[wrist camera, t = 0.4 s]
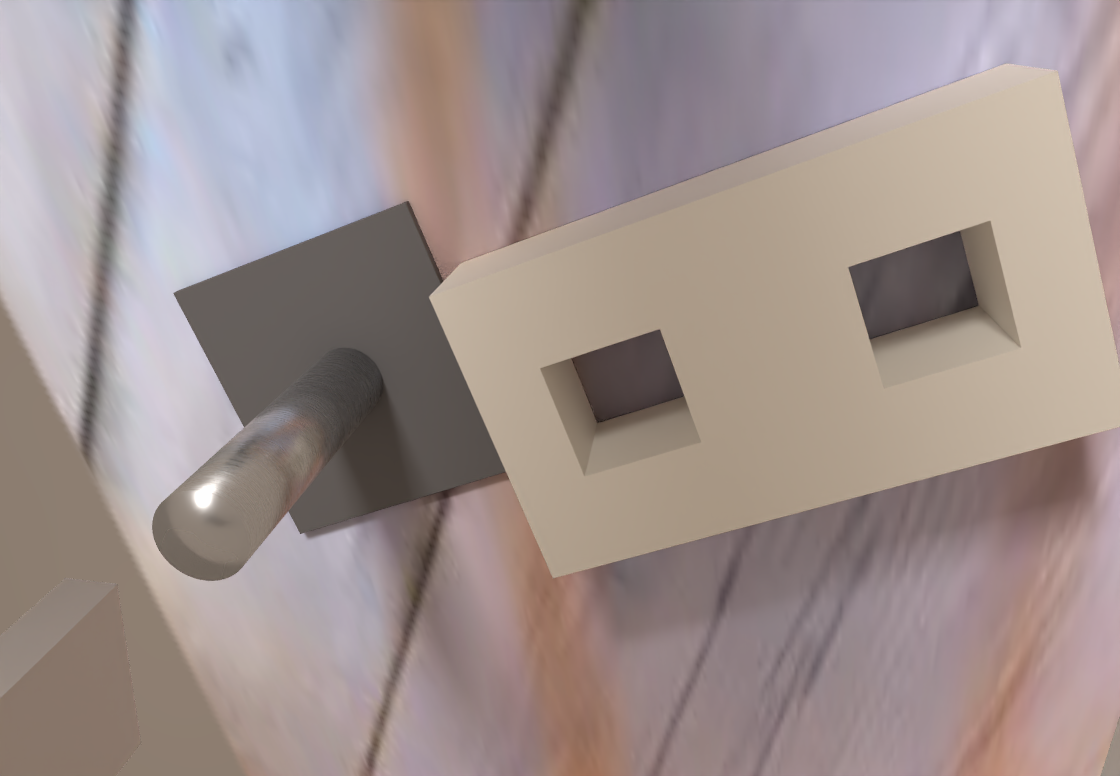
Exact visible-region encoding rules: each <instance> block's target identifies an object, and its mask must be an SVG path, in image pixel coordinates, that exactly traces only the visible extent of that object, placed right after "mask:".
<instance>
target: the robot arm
mask: <svg viewBox="0 0 1120 776" xmlns="http://www.w3.org/2000/svg"><path fill="white" fill-rule="evenodd" d="M140 744H141V738H140V732H139V724H138V718H137V711H136V704H135V698H134V691H133V685H132V678H131V672H130V664H129V658H128V651H127V645H126V638H125V631H124V625H123V618H122V611H121V604H120V598H119V591H118V585H117V584H111V583H103V582H95V581H86V580H78V579H69V578H65V579H64V580H63V581H61V582H60V583H59V584H58V585H57V586H56V587H55V588H54V589H52V590H51V591H50V592H49V593H48V594H47V595H46V596H45V597H43V598H42V599H41V600H40V601H39V602H38V603H37V604H36V605H34V606H33V607H32V608H31V609H30V610H29V611H28V612H26V613H25V614H24V615H23V616H22V617H21V618H20V619H19V620H17V621H16V622H15V623H14V624H13V625H12V626H11V627H9V628H8V629H7V630H6V631H5V632H4V633H3V634H2V635H0V776H116V775H117V774H118V773H119V771H120V770H121V769H122V768H123V766H124V765H125V764H126V762H127V761H128V759H129V758H130V757H131V756H132V755H133V753H134V752H135V751H136V749H137V748H138V747H139V745H140ZM1101 776H1120V717H1119V720H1118V724H1117V727H1116V730H1115V733H1114V736H1113V739H1112V742H1111V745H1110V748H1109V751H1108V754H1107V757H1106V760H1105V763H1104V767H1103V770H1102V773H1101Z"/></svg>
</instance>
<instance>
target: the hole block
mask: <svg viewBox="0 0 1120 776" xmlns="http://www.w3.org/2000/svg"><path fill="white" fill-rule="evenodd" d="M957 231H960V233H961V237H962V241H963V245H964V249H965V253H966V257H967V261H968V265H969V269H970V273H971V277H972V281H973V284H974V288H975V292H976V296H977V300H978V304H979V306H977V307H973V308H970V309H967V310H964V311H960V312H957V313H954V314H951V315H947V316H944V317H941V318H938V319H934V320H931V321H928V322H925V323H921V324H918V325H915V326H912V327H908V328H905V329H902V330H899V331H895V332H892V333H889V334H886V335H882V336H879V337H876V338H873V339H869V336H868V333H867V329H866V326H865V323H864V319H863V316H862V312H861V309H860V306H859V302H858V299H857V296H856V292H855V289H854V285H853V282H852V279H851V275H850V272H849V268H848V267H850V266H853V265H856V264H859V263H862V262H865V261H868V260H872V259H875V258H878V257H881V256H884V255H887V254H890V253H893V252H896V251H899V250H902V249H905V248H908V247H911V246H914V245H917V244H920V243H923V242H926V241H929V240H932V239H936V238H939V237H942V236H945V235H948V234H951V233H954V232H957ZM429 299H430V301H431V303H432V305H433V308H434V310H435V312H436V314H437V317H438V319H439V321H440V323H441V326H442V328H443V330H444V332H445V335H446V337H447V339H448V342H449V344H450V346H451V348H452V351H453V353H454V355H455V357H456V360H457V362H458V364H459V366H460V369H461V371H462V373H463V376H464V378H465V380H466V382H467V385H468V387H469V389H470V391H471V394H472V396H473V398H474V400H475V403H476V405H477V407H478V410H479V412H480V414H481V416H482V419H483V421H484V423H485V425H486V428H487V430H488V432H489V434H490V437H491V439H492V441H493V443H494V446H495V448H496V450H497V453H498V455H499V457H500V459H501V462H502V464H503V466H504V468H505V471H506V473H507V475H508V477H509V480H510V482H511V484H512V487H513V489H514V491H515V493H516V496H517V498H518V500H519V502H520V505H521V507H522V509H523V511H524V514H525V516H526V518H527V521H528V523H529V525H530V527H531V530H532V532H533V534H534V536H535V539H536V541H537V543H538V545H539V548H540V550H541V552H542V555H543V557H544V559H545V561H546V564H547V566H548V568H549V570H550V573H551V575H552V577H553V578H557V577H560V576H564V575H568V574H572V573H575V572H579V571H583V570H587V569H590V568H594V567H598V566H602V565H605V564H609V563H613V562H616V561H620V560H624V559H628V558H631V557H635V556H639V555H643V554H646V553H650V552H654V551H658V550H661V549H665V548H669V547H673V546H676V545H680V544H684V543H688V542H691V541H695V540H699V539H702V538H706V537H710V536H714V535H717V534H721V533H725V532H729V531H732V530H736V529H740V528H744V527H747V526H751V525H755V524H759V523H762V522H766V521H770V520H773V519H777V518H781V517H785V516H788V515H792V514H796V513H800V512H803V511H807V510H811V509H815V508H818V507H822V506H826V505H830V504H833V503H837V502H841V501H844V500H848V499H852V498H856V497H859V496H863V495H867V494H871V493H874V492H878V491H882V490H886V489H889V488H893V487H897V486H901V485H904V484H908V483H912V482H915V481H919V480H923V479H927V478H930V477H934V476H938V475H942V474H945V473H949V472H953V471H957V470H960V469H964V468H968V467H972V466H975V465H979V464H983V463H987V462H990V461H994V460H998V459H1001V458H1005V457H1009V456H1013V455H1016V454H1020V453H1024V452H1028V451H1031V450H1035V449H1039V448H1043V447H1046V446H1050V445H1054V444H1058V443H1061V442H1065V441H1069V440H1072V439H1076V438H1080V437H1084V436H1087V435H1091V434H1095V433H1099V432H1102V431H1106V430H1110V429H1114V428H1117V427H1120V366H1119V361H1118V356H1117V352H1116V347H1115V342H1114V337H1113V333H1112V328H1111V323H1110V318H1109V314H1108V309H1107V304H1106V299H1105V295H1104V290H1103V285H1102V280H1101V275H1100V271H1099V266H1098V261H1097V256H1096V252H1095V247H1094V242H1093V237H1092V233H1091V228H1090V223H1089V218H1088V214H1087V209H1086V204H1085V199H1084V195H1083V190H1082V185H1081V180H1080V175H1079V171H1078V166H1077V161H1076V156H1075V152H1074V147H1073V142H1072V137H1071V133H1070V128H1069V123H1068V118H1067V114H1066V109H1065V104H1064V99H1063V95H1062V90H1061V85H1060V80H1059V76H1058V71H1056V70H1049V69H1042V68H1034V67H1027V66H1020V65H1013V64H1003V65H1000V66H998V67H995V68H992V69H989V70H987V71H984V72H981V73H979V74H976V75H973V76H970V77H968V78H965V79H962V80H959V81H957V82H954V83H951V84H949V85H946V86H943V87H940V88H938V89H935V90H932V91H929V92H927V93H924V94H921V95H918V96H916V97H913V98H910V99H908V100H905V101H902V102H899V103H897V104H894V105H891V106H888V107H886V108H883V109H880V110H878V111H875V112H872V113H869V114H867V115H864V116H861V117H858V118H856V119H853V120H850V121H847V122H845V123H842V124H839V125H837V126H834V127H831V128H828V129H826V130H823V131H820V132H817V133H815V134H812V135H809V136H806V137H804V138H801V139H798V140H796V141H793V142H790V143H787V144H785V145H782V146H779V147H776V148H774V149H771V150H768V151H766V152H763V153H760V154H757V155H755V156H752V157H749V158H746V159H744V160H741V161H738V162H735V163H733V164H730V165H727V166H725V167H722V168H719V169H716V170H714V171H711V172H708V173H705V174H703V175H700V176H697V177H695V178H692V179H689V180H686V181H684V182H681V183H678V184H675V185H673V186H670V187H667V188H664V189H662V190H659V191H656V192H654V193H651V194H648V195H645V196H643V197H640V198H637V199H634V200H632V201H629V202H626V203H624V204H621V205H618V206H615V207H613V208H610V209H607V210H604V211H602V212H599V213H596V214H593V215H591V216H588V217H585V218H583V219H580V220H577V221H574V222H572V223H569V224H566V225H563V226H561V227H558V228H555V229H553V230H550V231H547V232H544V233H542V234H539V235H536V236H533V237H531V238H528V239H525V240H522V241H520V242H517V243H514V244H512V245H509V246H506V247H503V248H501V249H498V250H495V251H492V252H490V253H487V254H484V255H482V256H479V257H476V258H473V259H471V260H468V261H465V262H462V263H461V264H460V265H459V266H458V267H457V268H456V269H455V270H454V271H453V272H452V273H451V274H450V275H449V276H448V277H447V278H446V279H445V280H444V281H443V282H442V284H441V285H440V286H439V287H438V288H437V289H436V290H435V291H434V292H433V293H432V294H431V295H430V296H429ZM658 329H660V331H661V334H662V336H663V339H664V342H665V345H666V347H667V350H668V353H669V355H670V358H671V361H672V364H673V366H674V369H675V372H676V375H677V377H678V380H679V383H680V386H681V388H682V391H683V394H684V397H681V398H678V399H674V400H671V401H668V402H665V403H661V404H658V405H655V406H652V407H648V408H645V409H642V410H639V411H635V412H632V413H629V414H626V415H622V416H619V417H616V418H613V419H609V420H606V421H603V422H600V423H597V421H596V419H595V416H594V414H593V411H592V409H591V406H590V404H589V401H588V399H587V396H586V394H585V391H584V389H583V386H582V384H581V381H580V379H579V376H578V374H577V371H576V369H575V367H574V364H573V362H572V359H571V358H573V357H576V356H579V355H582V354H585V353H588V352H591V351H594V350H597V349H600V348H603V347H606V346H609V345H612V344H616V343H619V342H622V341H625V340H628V339H631V338H634V337H637V336H640V335H643V334H646V333H649V332H652V331H655V330H658Z"/></svg>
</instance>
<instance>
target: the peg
mask: <svg viewBox="0 0 1120 776" xmlns="http://www.w3.org/2000/svg"><path fill="white" fill-rule="evenodd" d="M382 392H383V378H382V375H381V372H380V370H379V368H378V366H377V365H376V363H375V362H374V361H373V360H372V359H371V358H370V357H369V356H367V355H366V354H364V353H363V352H361V351H358V350H356V349H352V348H337V349H333V350H331V351H329V352H327V353H326V354H325V355H324V356H322V357H321V358H320V359H319V360H318V361H317V362H316V363H315V364H314V365H313V366H311V367H310V368H309V369H308V370H307V371H306V372H305V373H304V374H303V375H302V376H300V377H299V378H298V379H297V380H296V381H295V382H294V383H293V384H292V385H291V386H289V387H288V388H287V389H286V390H285V391H284V392H283V393H282V394H281V395H280V396H278V397H277V398H276V399H275V400H274V401H273V402H272V403H271V404H270V405H269V406H267V407H266V408H265V409H264V410H263V411H262V412H261V413H260V414H259V415H258V416H256V417H255V418H254V419H253V420H252V421H251V422H250V423H249V424H248V425H247V426H245V427H244V428H243V429H242V430H241V431H240V432H239V433H238V434H237V435H236V436H234V437H233V438H232V439H231V440H230V441H229V442H228V443H227V444H226V445H225V446H223V447H222V448H221V449H220V450H219V451H218V452H217V453H216V454H215V455H214V456H212V457H211V458H210V459H209V460H208V461H207V462H206V463H205V464H204V465H203V466H201V467H200V468H199V469H198V470H197V471H196V472H195V473H194V474H193V475H192V476H190V477H189V478H188V479H187V480H186V481H185V482H184V483H183V484H182V485H181V486H179V487H178V488H177V489H176V490H175V491H174V492H173V493H172V494H171V495H170V496H168V497H167V498H166V499H165V500H164V501H163V502H162V503H161V504H160V505H159V506H158V508H157V510H156V512H155V514H154V517H153V523H152V530H153V536H154V540H155V542H156V545H157V547H158V549H159V551H160V552H161V554H162V555H163V556H164V558H165V559H166V560H167V561H168V562H169V563H170V564H171V565H172V566H173V567H175V568H176V569H177V570H179V571H180V572H182V573H184V574H186V575H188V576H190V577H193V578H196V579H200V580H206V581H215V580H222V579H225V578H228V577H230V576H232V575H234V574H235V573H237V572H238V571H239V570H240V569H241V568H242V567H243V566H244V564H245V563H246V562H247V561H248V559H249V558H250V557H251V556H252V555H253V553H254V552H255V551H256V550H257V549H258V547H259V546H260V545H261V544H262V542H263V541H264V540H265V539H266V538H267V536H268V535H269V534H270V533H271V532H272V530H273V529H274V528H275V527H276V525H277V524H278V523H279V522H280V521H281V519H282V518H283V517H284V516H285V515H286V513H287V512H288V511H289V510H290V508H291V507H292V506H293V505H294V504H295V502H296V501H297V500H298V499H299V498H300V496H301V495H302V494H303V493H304V491H305V490H306V489H307V488H308V487H309V485H310V484H311V483H312V482H313V481H314V479H315V478H316V477H317V476H318V474H319V473H320V472H321V471H322V470H323V468H324V467H325V466H326V465H327V464H328V462H329V461H330V460H331V459H332V457H333V456H334V455H335V454H336V453H337V451H338V450H339V449H340V448H341V447H342V445H343V444H344V443H345V442H346V440H347V439H348V438H349V437H350V436H351V434H352V433H353V432H354V431H355V430H356V428H357V427H358V426H359V425H360V423H361V422H362V421H363V420H364V419H365V417H366V416H367V415H368V414H369V413H370V411H371V410H372V409H373V408H374V406H375V405H376V404H377V403H378V401H379V400H380V398H381V395H382Z"/></svg>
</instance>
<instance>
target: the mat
mask: <svg viewBox="0 0 1120 776" xmlns="http://www.w3.org/2000/svg"><path fill="white" fill-rule="evenodd" d="M442 282H443V280H442V277H441V275H440V273H439V271H438V268H437V266H436V264H435V261H434V259H433V257H432V254H431V252H430V250H429V247H428V245H427V243H426V241H425V238H424V236H423V234H422V231H421V229H420V227H419V224H418V222H417V220H416V218H415V215H414V213H413V211H412V208H411V206H410V204H409V201H407V202H404V203H402V204H399V205H397V206H394V207H392V208H389V209H387V210H384V211H381V212H379V213H376V214H374V215H371V216H369V217H366V218H363V219H361V220H358V221H356V222H353V223H351V224H348V225H346V226H343V227H340V228H338V229H335V230H333V231H330V232H328V233H325V234H322V235H320V236H317V237H315V238H312V239H310V240H307V241H304V242H302V243H299V244H297V245H294V246H292V247H289V248H287V249H284V250H281V251H279V252H276V253H274V254H271V255H269V256H266V257H263V258H261V259H258V260H256V261H253V262H251V263H248V264H246V265H243V266H240V267H238V268H235V269H233V270H230V271H228V272H225V273H222V274H220V275H217V276H215V277H212V278H210V279H207V280H205V281H202V282H199V283H197V284H194V285H192V286H189V287H187V288H184V289H181V290H179V291H177V292H175V293H173V294H174V295H175V297H176V299H177V301H178V303H179V305H180V307H181V309H182V311H183V312H184V314H185V316H186V318H187V320H188V322H189V324H190V326H191V328H192V329H193V331H194V333H195V335H196V337H197V339H198V341H199V343H200V345H201V347H202V348H203V350H204V352H205V354H206V356H207V358H208V360H209V362H210V364H211V365H212V367H213V369H214V371H215V373H216V375H217V377H218V379H219V381H220V382H221V384H222V386H223V388H224V390H225V392H226V394H227V396H228V398H229V400H230V401H231V403H232V405H233V407H234V409H235V411H236V413H237V415H238V417H239V418H240V420H241V422H242V424H243V426H244V427H245V426H247V425H248V424H249V423H250V422H251V421H252V420H253V419H254V418H255V417H256V416H258V415H259V414H260V413H261V412H262V411H263V410H264V409H265V408H266V407H267V406H269V405H270V404H271V403H272V402H273V401H274V400H275V399H276V398H277V397H278V396H280V395H281V394H282V393H283V392H284V391H285V390H286V389H287V388H288V387H289V386H291V385H292V384H293V383H294V382H295V381H296V380H297V379H298V378H299V377H300V376H302V375H303V374H304V373H305V372H306V371H307V370H308V369H309V368H310V367H311V366H313V365H314V364H315V363H316V362H317V361H318V360H319V359H320V358H321V357H322V356H324V355H325V354H326V353H327V352H329V351H331V350H333V349H337V348H352V349H356V350H358V351H361V352H363V353H364V354H366V355H367V356H369V357H370V358H371V359H372V360H373V361H374V362H375V363H376V365H377V366H378V368H379V370H380V372H381V375H382V378H383V392H382V395H381V398H380V400H379V401H378V403H377V404H376V405H375V406H374V408H373V409H372V410H371V411H370V413H369V414H368V415H367V416H366V417H365V419H364V420H363V421H362V422H361V423H360V425H359V426H358V427H357V428H356V430H355V431H354V432H353V433H352V434H351V436H350V437H349V438H348V439H347V440H346V442H345V443H344V444H343V445H342V447H341V448H340V449H339V450H338V451H337V453H336V454H335V455H334V456H333V457H332V459H331V460H330V461H329V462H328V464H327V465H326V466H325V467H324V468H323V470H322V471H321V472H320V473H319V474H318V476H317V477H316V478H315V479H314V481H313V482H312V483H311V484H310V485H309V487H308V488H307V489H306V490H305V491H304V493H303V494H302V495H301V496H300V498H299V499H298V500H297V501H296V502H295V504H294V505H293V506H292V507H291V508H290V510H289V513H290V515H291V517H292V519H293V521H294V523H295V525H296V526H297V528H298V530H299V532H300V534H302V533H305V532H308V531H312V530H315V529H318V528H321V527H325V526H328V525H331V524H335V523H338V522H341V521H345V520H348V519H351V518H355V517H358V516H361V515H365V514H368V513H371V512H375V511H378V510H381V509H384V508H388V507H391V506H394V505H398V504H401V503H404V502H408V501H411V500H414V499H418V498H421V497H424V496H428V495H431V494H434V493H438V492H441V491H444V490H447V489H451V488H454V487H457V486H461V485H464V484H467V483H471V482H474V481H477V480H481V479H484V478H487V477H491V476H494V475H497V474H500V473H504V472H506V471H505V468H504V466H503V464H502V462H501V459H500V457H499V455H498V453H497V450H496V448H495V446H494V443H493V441H492V439H491V437H490V434H489V432H488V430H487V428H486V425H485V423H484V421H483V419H482V416H481V414H480V412H479V410H478V407H477V405H476V403H475V400H474V398H473V396H472V394H471V391H470V389H469V387H468V385H467V382H466V380H465V378H464V376H463V373H462V371H461V369H460V366H459V364H458V362H457V360H456V357H455V355H454V353H453V351H452V348H451V346H450V344H449V342H448V339H447V337H446V335H445V332H444V330H443V328H442V326H441V323H440V321H439V319H438V317H437V314H436V312H435V310H434V308H433V305H432V303H431V301H430V299H429V296H430V295H431V294H432V293H433V292H434V291H435V290H436V289H437V288H438V287H439V286H440V285H441V284H442Z"/></svg>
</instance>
